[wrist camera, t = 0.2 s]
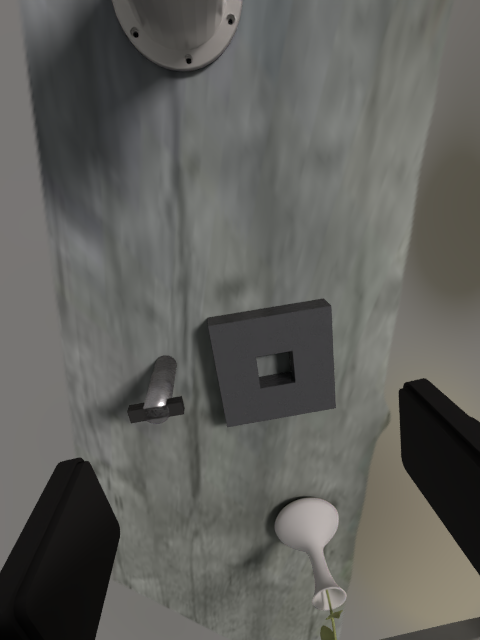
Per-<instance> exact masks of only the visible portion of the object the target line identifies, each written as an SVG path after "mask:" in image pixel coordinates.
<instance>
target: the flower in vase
mask: <svg viewBox="0 0 480 640" xmlns="http://www.w3.org/2000/svg"><path fill="white" fill-rule="evenodd" d="M338 521H339V517H338V512H337V510H336V509H335V507H334V506H333V505H332V504H330V503H329V502H327V501H325V500H323V499H320V498H312V497H310V498H302V499H298V500H296V501H293V502H291V503H290V504H288V505H287V506H285V507H284V508H283V509H282V510H281V511H280V513H279V514H278V516H277V518H276V521H275V532H276V534H277V536H278V538H279V539H280V540H281V542H282V543H284V544H285V545H287V546H289V547H291V548H293V549H295V550H299V551H303V552H306V553H307V554H308V556H309V558H310V561H311V564H312V568H313V572H314V578H315V593H314V596H313V599H312V604H313V606H314V607H315V608H317V609H319V610H330V614H331V615H330V616H329V617H328V618H326V620H327V619H331V620H332V627H333V632H332V630H331V629H330V628H328V627H326V626H322V627H321V632H320V635H321V640H337V639H336V631H335V624H334V618H339V617H340V613H341V612H342V611H343V610H341V611H338V612H335V613H333V612H332V609H335V608H337V607H339V606H340V605H342V604H343V603H344V602H345V600H346V593H345V591H344V590H343V589H342V588H340V587H339V586H338V585H337V584H336V582H335V581H334V580H333V578H332V576H331V574H330V572H329V569H328V567H327V564H326V561H325V558H324V554H323V548H324V546H325V545H326V544H327V543H328V542H329V541H330V540H331V538H332V537H333V536H334V534H335V532H336V530H337V528H338Z"/></svg>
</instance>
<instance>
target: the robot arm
mask: <svg viewBox="0 0 480 640" xmlns="http://www.w3.org/2000/svg"><path fill="white" fill-rule="evenodd" d="M112 2H113V6H114V9H115V12H116V16H117V18H118V20H119V22H120V24H121V26H122V28H123V30H124V32H125V34H126V35H127V37H128V39H129V40H130V41H131V42H132V44H133V45H134V46H135V47H136V49H137V50H138V51H139V52H140V53H141V54H143V55H144V56H145V57H146V58H147V59H148V60H150V61H152V62H153V63H155V64H157V65H158V66H161V67H163V68H166V69H169V70H174V71H181V72H183V71H194V70H197V69H200V68H203V67H205V66H207V65H209V64H210V63H212V62H214V61H215V60H216V59H217V58H218V57H219V56H220V55H221V54H222V53H223V52H224V51H225V49H226V48H227V47H228V45H229V44H230V43H231V40H232V38H233V36H234V34H235V32H236V30H237V26H238V23H239V19H240V15H241V9H242V0H112ZM229 20H231V21H232V22H233V24H232V25H229V24H228V21H229ZM135 33H138V34H139V36H138V37H137V38H135V37H134V34H135ZM188 59H190V60H191V63H190V64H187V62H186V61H187V60H188ZM399 412H400V435H401V457H402V462H403V465H404V468H405V470H406V471H407V473H408V474H409V475H410V477H411V478H412V480H413V481H414V483H415V484H416V485H417V487H418V488H419V490H420V491H421V492H422V494H423V495H424V497H425V498H426V499H427V501H428V502H429V504H430V505H431V507H432V508H433V510H434V511H435V512H436V514H437V515H438V517H439V518H440V520H441V521H442V522H443V524H444V525H445V527H446V528H447V530H448V531H449V532H450V534H451V535H452V536H453V538H454V539H455V541H456V542H457V544H458V545H459V547H460V548H461V549H462V551H463V552H464V554H465V555H466V556H467V558H468V559H469V561H470V562H471V564H472V565H473V567H474V568H475V569H476V571H477V572H478V573H479V575H480V422H479V421H477V420H476V419H474V418H472V417H469V416H468V415H467V414H466V413H465V412H464V411H463V410H461V409H460V408H459V407H458V406H457V405H455V403H453V402H452V401H451V400H450V399H449V398H448V397H447V396H446V395H444V394H443V393H442V392H441V391H440V390H438V388H436V387H435V386H434V385H433V384H432V383H431V382H430V381H428V380H427V379H424V378H423V379H419V380H414V381H410V382H406V383H404V386H403V388H402V389H400V390H399ZM119 538H120V527H119V523H118V521H117V519H116V517H115V515H114V513H113V510H112V508H111V506H110V504H109V502H108V500H107V498H106V496H105V493H104V491H103V489H102V487H101V485H100V483H99V481H98V479H97V476H96V474H95V472H94V470H93V468H92V466H91V464H90V462H88V461H85V462H84V460H83V459H82V458H75V459H71V460H67V461H62V462H60V463H58V465H57V466H56V468H55V470H54V472H53V474H52V476H51V477H50V479H49V481H48V483H47V485H46V487H45V489H44V491H43V493H42V494H41V496H40V498H39V501H38V502H37V504H36V506H35V508H34V510H33V511H32V513H31V515H30V517H29V519H28V521H27V523H26V525H25V527H24V529H23V531H22V532H21V534H20V536H19V538H18V540H17V542H16V544H15V546H14V547H13V549H12V551H11V553H10V555H9V557H8V559H7V561H6V563H5V565H4V566H3V568H2V570H1V572H0V640H95V637H96V633H97V629H98V625H99V621H100V617H101V613H102V608H103V604H104V600H105V596H106V592H107V588H108V584H109V580H110V575H111V571H112V567H113V563H114V559H115V555H116V551H117V547H118V543H119ZM381 640H480V617H479V618H473V619H469V620H464V621H459V622H454V623H450V624H446V625H441V626H437V627H433V628H429V629H424V630H420V631H415V632H411V633H407V634H403V635H398V636H394V637H389V638H385V639H381Z"/></svg>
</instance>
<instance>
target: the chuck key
mask: <svg viewBox="0 0 480 640" xmlns="http://www.w3.org/2000/svg"><path fill="white" fill-rule="evenodd" d="M176 368H177V363H176V361H175V359H174V358H172V357H171V356H161V357H159V358H158V359H157V360H156V362H155V366H154V370H153V373H152V377H151V381H150V385H149V388H148V392H147V396H146V399H145V403H140V404H134V405H129V408H128V411H127V412H128V415H129V418H130V421H131V423H136V422H141V421H148V422H150V423H153V424H160V423H163V422H165V421H166V420H167V419H168V417H170V416H176V415H182V414H184V409H185V407H184V403H183V399H182V396H180V397H174V398H172V394H173V388H174V381H175V374H176Z"/></svg>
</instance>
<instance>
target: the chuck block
mask: <svg viewBox="0 0 480 640" xmlns="http://www.w3.org/2000/svg"><path fill="white" fill-rule="evenodd" d="M208 329H209V334H210V339H211V344H212V350H213V355H214V360H215V365H216V371H217V376H218V381H219V386H220V392H221V397H222V402H223V407H224V413H225V418H226V423H227V427H231V426H237V425H243V424H248V423H254V422H260V421H265V420H271V419H277V418H282V417H288V416H294V415H299V414H305V413H311V412H316V411H322V410H328V409H333V408H336V404H335V381H334V358H333V336H332V313H331V305H330V304H329V303H328V302H327V301H326V300H325V299H318V300H312V301H306V302H300V303H294V304H288V305H282V306H276V307H270V308H264V309H258V310H252V311H246V312H240V313H234V314H228V315H222V316H215V317H209V318H208ZM288 351H289V358H290V369H291V372H286V373H280V374H274V375H268V376H262V377H259V375H258V368H257V361H256V357H259V356H265V355H271V354H277V353H282V352H288Z"/></svg>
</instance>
